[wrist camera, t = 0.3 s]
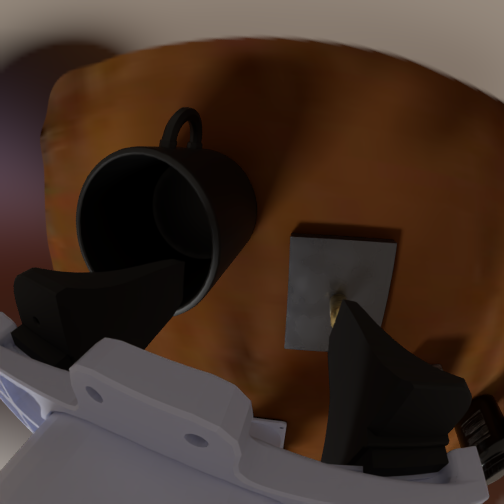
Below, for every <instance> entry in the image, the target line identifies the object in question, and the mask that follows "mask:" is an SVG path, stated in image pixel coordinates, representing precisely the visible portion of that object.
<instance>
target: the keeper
mask: <svg viewBox="0 0 504 504" xmlns="http://www.w3.org/2000/svg"><path fill="white" fill-rule="evenodd" d="M396 247H397V243H396V242H395V241H394V240H389V239H376V238H362V237H347V236H331V235H315V234H297V233H291V236H290V260H289V282H288V301H287V318H286V334H285V348H286V349H297V350H310V351H326V352H328V346H329V336H330V333H331V331H332V328H333V325H334V323H335V320H336V317H337V314H338V311H339V308H340V306H341V303H342V300H343V299H346V300H350V301H355V302H357V303H358V304H359V305H360V306H361V307H362V308H363V309H364V310H365V311H366V312H367V313H368V314H369V316H370V317H371V318H372V319H373V320H374V321H375V322H376V323H377V324H378V325H379V326H380V327H381V324H382V320H383V315H384V311H385V307H386V302H387V298H388V293H389V288H390V283H391V278H392V272H393V266H394V260H395V254H396Z"/></svg>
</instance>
